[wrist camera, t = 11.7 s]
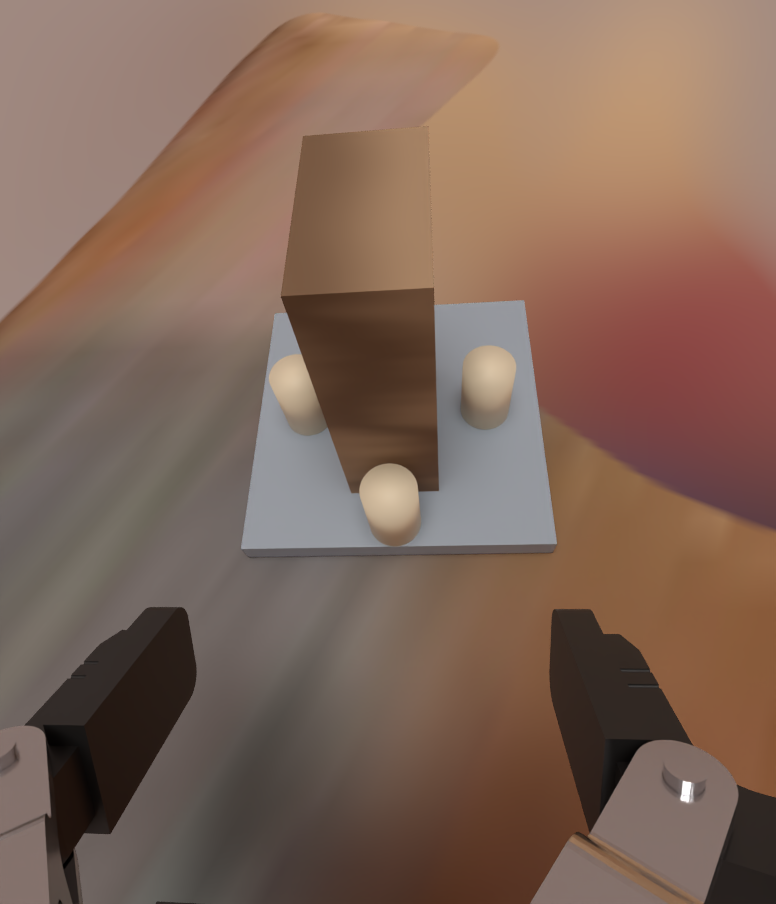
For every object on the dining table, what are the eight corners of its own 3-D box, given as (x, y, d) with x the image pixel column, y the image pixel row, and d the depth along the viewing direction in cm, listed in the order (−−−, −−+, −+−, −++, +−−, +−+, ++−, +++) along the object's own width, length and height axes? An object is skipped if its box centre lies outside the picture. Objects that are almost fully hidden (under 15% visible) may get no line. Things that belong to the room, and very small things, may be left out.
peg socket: (521, 314, 27) (532, 249, 24) (552, 552, 22) (573, 513, 18) (280, 327, 28) (257, 266, 25) (248, 557, 23) (213, 520, 19)
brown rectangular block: (435, 368, 25) (428, 126, 15) (438, 491, 22) (434, 287, 13) (357, 371, 25) (303, 136, 16) (351, 493, 22) (280, 296, 13)
